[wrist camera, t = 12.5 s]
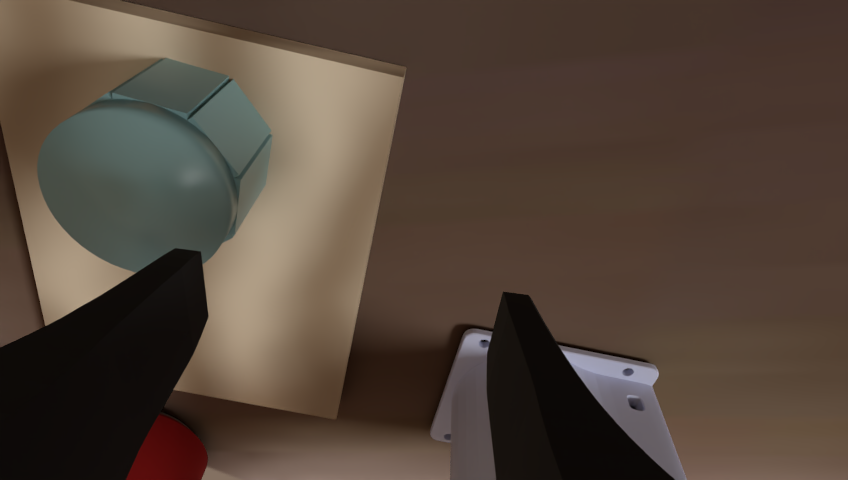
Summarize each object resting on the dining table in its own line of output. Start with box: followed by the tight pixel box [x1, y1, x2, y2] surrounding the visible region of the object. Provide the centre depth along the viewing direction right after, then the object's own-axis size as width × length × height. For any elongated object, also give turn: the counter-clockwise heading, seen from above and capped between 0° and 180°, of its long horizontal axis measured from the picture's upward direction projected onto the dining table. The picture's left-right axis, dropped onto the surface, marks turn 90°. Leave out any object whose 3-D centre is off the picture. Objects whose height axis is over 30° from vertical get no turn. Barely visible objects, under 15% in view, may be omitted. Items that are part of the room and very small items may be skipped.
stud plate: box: [0, 0, 407, 420], centre depth 22 cm, size 14×18×4 cm
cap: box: [37, 58, 273, 272], centre depth 18 cm, size 6×6×4 cm
